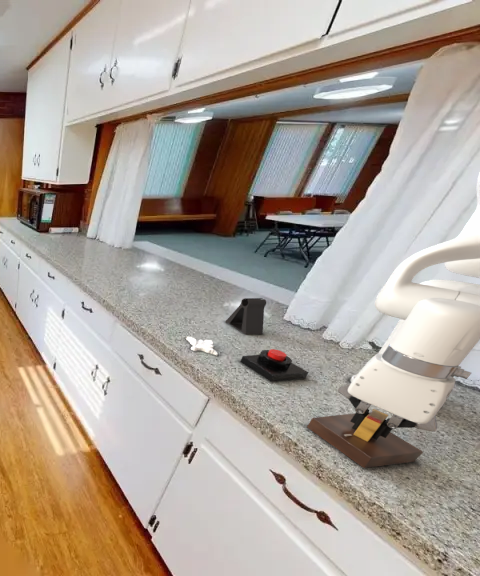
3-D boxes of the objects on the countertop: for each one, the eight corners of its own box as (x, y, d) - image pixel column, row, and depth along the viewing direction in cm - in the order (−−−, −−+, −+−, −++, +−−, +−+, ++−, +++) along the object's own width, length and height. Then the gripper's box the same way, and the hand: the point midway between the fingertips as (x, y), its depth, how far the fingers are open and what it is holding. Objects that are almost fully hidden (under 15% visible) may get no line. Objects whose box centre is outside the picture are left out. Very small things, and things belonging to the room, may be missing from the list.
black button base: (272, 359, 91) (277, 348, 90) (305, 378, 83) (311, 367, 81) (240, 361, 90) (244, 351, 89) (270, 381, 82) (276, 370, 80)
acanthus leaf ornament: (185, 339, 102) (187, 334, 101) (209, 343, 100) (211, 338, 99) (191, 351, 96) (193, 346, 95) (217, 355, 93) (219, 350, 92)
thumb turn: (361, 425, 65) (374, 407, 63) (375, 432, 63) (389, 414, 61) (353, 434, 63) (365, 416, 61) (367, 441, 61) (381, 423, 59)
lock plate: (351, 422, 69) (358, 412, 68) (414, 461, 60) (424, 451, 59) (306, 427, 68) (312, 417, 67) (363, 468, 59) (372, 457, 58)
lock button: (274, 353, 88) (277, 348, 87) (287, 360, 85) (290, 355, 84) (263, 354, 88) (266, 349, 87) (276, 361, 84) (279, 356, 84)
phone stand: (225, 321, 112) (236, 293, 107) (241, 321, 112) (252, 293, 107) (245, 334, 104) (257, 304, 99) (262, 334, 104) (275, 304, 99)
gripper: (501, 381, 50) (435, 454, 58) (358, 336, 63) (319, 400, 71) (494, 396, 47) (425, 471, 55) (345, 345, 60) (306, 412, 68)
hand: (366, 431), depth 63 cm, fingers closed on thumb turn, 2 cm apart
